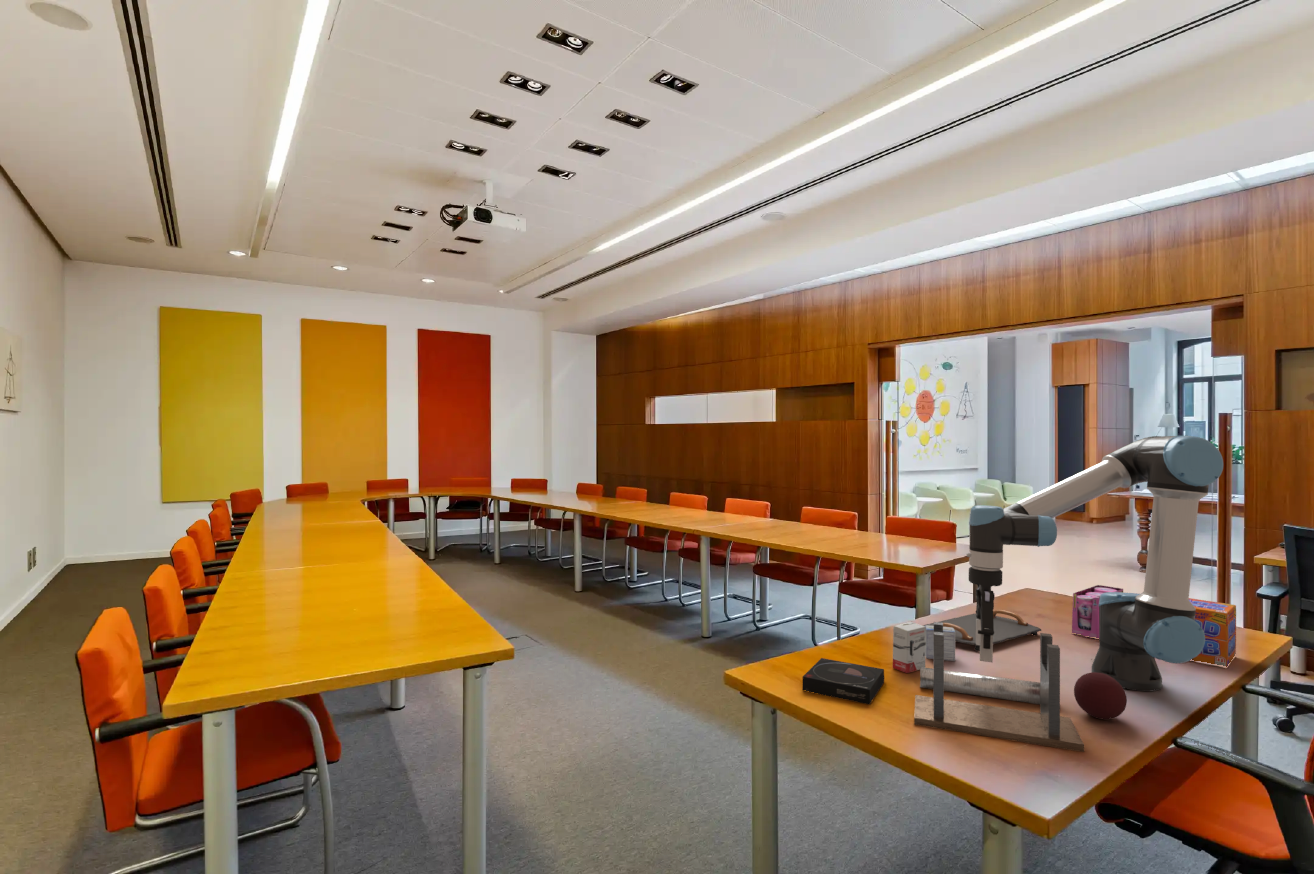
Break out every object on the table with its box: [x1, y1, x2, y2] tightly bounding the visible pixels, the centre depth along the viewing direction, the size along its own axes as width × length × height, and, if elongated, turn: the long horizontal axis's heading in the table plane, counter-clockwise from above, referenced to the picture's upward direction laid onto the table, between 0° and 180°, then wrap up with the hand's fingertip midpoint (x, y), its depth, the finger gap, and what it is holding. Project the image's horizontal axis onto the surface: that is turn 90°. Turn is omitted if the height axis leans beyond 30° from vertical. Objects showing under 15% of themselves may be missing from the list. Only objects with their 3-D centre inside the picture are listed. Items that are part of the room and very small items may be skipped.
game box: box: [1189, 597, 1237, 667], centre depth 190 cm, size 16×16×16 cm
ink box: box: [892, 621, 926, 674], centre depth 179 cm, size 8×5×12 cm, turn 123°
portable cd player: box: [801, 657, 885, 705], centre depth 165 cm, size 16×17×4 cm
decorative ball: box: [1073, 672, 1128, 720], centre depth 147 cm, size 10×10×10 cm
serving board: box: [922, 609, 1042, 652], centre depth 210 cm, size 39×23×6 cm, turn 122°
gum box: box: [1071, 584, 1124, 638], centre depth 215 cm, size 24×8×14 cm, turn 127°
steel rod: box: [919, 666, 1040, 705], centre depth 160 cm, size 30×5×5 cm, turn 67°
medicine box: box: [925, 624, 956, 662], centre depth 188 cm, size 8×4×9 cm, turn 71°
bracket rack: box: [913, 621, 1085, 753], centre depth 143 cm, size 32×14×20 cm, turn 67°
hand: (983, 652), depth 161 cm, fingers open, 13 cm apart
